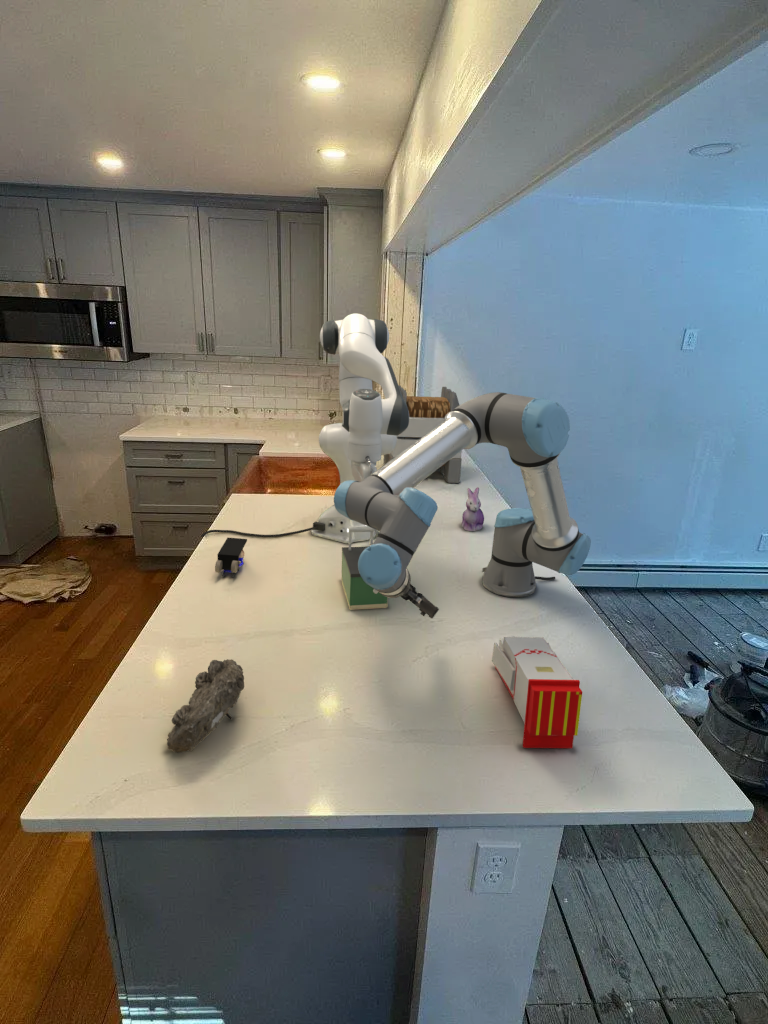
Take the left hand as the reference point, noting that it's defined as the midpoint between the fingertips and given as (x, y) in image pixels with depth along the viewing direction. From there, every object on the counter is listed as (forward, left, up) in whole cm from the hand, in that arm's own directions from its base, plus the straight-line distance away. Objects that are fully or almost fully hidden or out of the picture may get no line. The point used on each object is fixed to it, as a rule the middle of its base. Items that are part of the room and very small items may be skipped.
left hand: (363, 501), depth 155 cm
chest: (+3, -6, -25) cm, 26 cm away
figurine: (+25, +57, -25) cm, 67 cm away
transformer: (-9, +120, -25) cm, 123 cm away
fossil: (-9, -63, -25) cm, 69 cm away
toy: (+49, -38, -25) cm, 67 cm away
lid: (+3, -6, -15) cm, 17 cm away
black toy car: (-38, -6, -25) cm, 46 cm away
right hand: (+18, -24, -12) cm, 33 cm away
